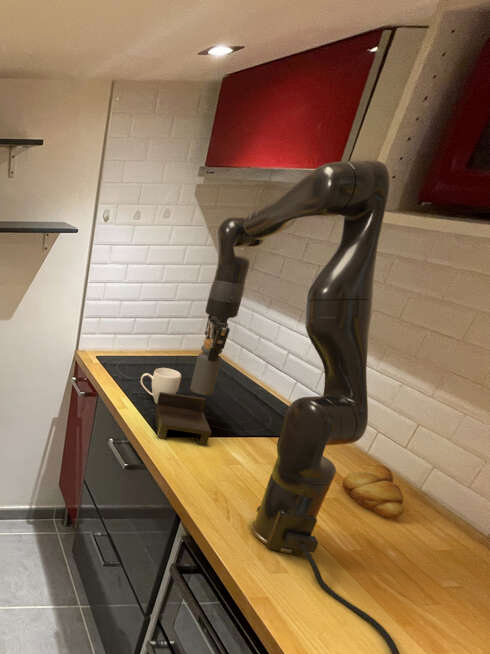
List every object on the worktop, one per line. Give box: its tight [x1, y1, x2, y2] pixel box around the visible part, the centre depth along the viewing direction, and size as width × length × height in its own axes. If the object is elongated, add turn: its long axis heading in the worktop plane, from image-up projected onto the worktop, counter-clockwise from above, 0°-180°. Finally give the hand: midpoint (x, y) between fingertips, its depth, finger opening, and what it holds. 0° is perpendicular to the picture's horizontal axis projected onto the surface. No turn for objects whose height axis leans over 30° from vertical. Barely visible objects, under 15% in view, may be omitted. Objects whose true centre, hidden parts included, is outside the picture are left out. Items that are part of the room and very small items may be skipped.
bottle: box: [189, 338, 223, 396], centre depth 125 cm, size 6×6×15 cm
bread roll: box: [342, 464, 405, 519], centre depth 105 cm, size 13×10×8 cm
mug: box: [140, 367, 182, 405], centre depth 151 cm, size 12×8×11 cm
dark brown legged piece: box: [153, 392, 212, 447], centre depth 133 cm, size 14×13×9 cm
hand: (209, 356), depth 123 cm, fingers closed on bottle, 5 cm apart
